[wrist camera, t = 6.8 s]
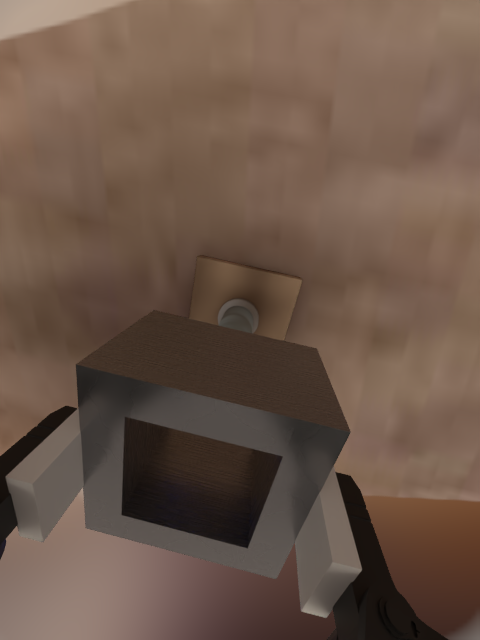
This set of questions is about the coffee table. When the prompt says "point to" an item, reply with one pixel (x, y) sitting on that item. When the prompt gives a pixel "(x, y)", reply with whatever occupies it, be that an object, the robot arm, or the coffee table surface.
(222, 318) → the peg stand
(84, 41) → the coffee table surface
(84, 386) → the gray square frame
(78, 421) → the robot arm
